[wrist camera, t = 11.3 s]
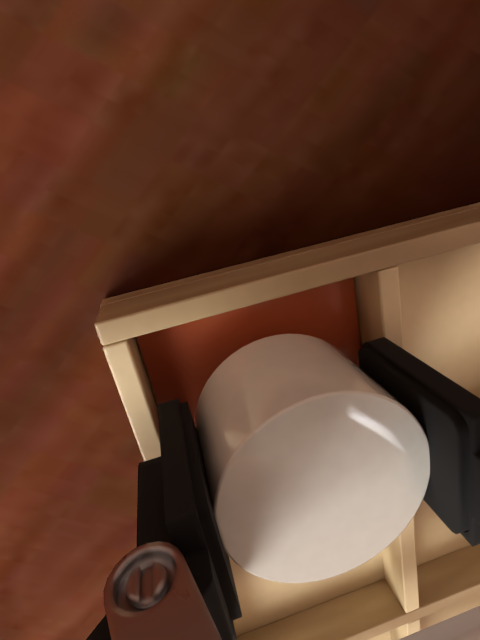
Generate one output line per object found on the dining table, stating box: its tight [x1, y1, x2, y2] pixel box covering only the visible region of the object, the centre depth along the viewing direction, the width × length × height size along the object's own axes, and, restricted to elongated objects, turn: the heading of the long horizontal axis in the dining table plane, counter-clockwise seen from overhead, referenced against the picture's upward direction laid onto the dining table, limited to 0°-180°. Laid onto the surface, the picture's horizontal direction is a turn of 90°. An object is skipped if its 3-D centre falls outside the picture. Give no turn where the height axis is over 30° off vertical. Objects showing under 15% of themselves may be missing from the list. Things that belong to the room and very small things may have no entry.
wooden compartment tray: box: [95, 202, 480, 640], centre depth 16 cm, size 22×22×2 cm
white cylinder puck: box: [195, 334, 430, 583], centre depth 10 cm, size 5×5×3 cm
